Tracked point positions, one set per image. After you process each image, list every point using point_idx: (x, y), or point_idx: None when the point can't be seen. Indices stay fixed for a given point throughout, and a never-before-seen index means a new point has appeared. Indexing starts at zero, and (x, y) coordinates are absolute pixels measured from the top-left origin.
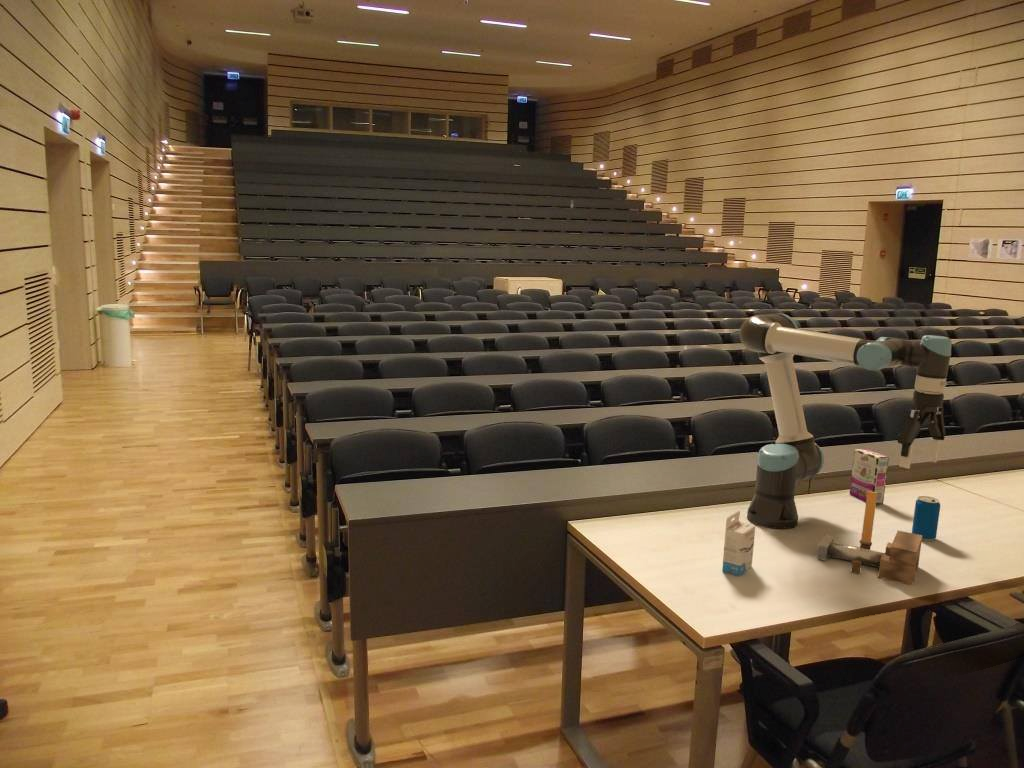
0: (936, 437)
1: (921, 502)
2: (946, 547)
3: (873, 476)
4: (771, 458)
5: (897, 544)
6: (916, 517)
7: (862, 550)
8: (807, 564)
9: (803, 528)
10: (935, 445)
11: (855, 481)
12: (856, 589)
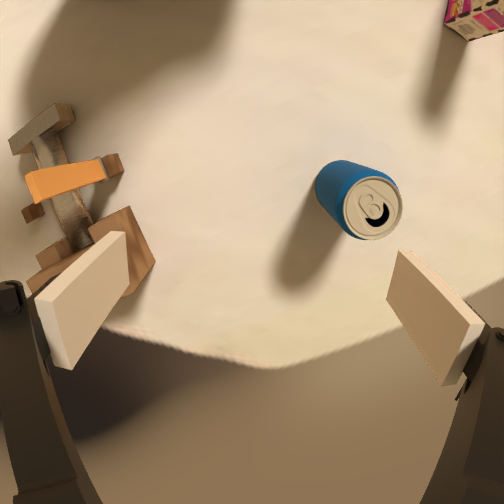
0: (474, 373)
1: (342, 198)
2: (320, 245)
3: (483, 1)
4: None
5: (43, 284)
6: (329, 181)
7: (52, 199)
8: (3, 147)
9: (141, 3)
10: (430, 348)
11: None
12: (3, 247)
